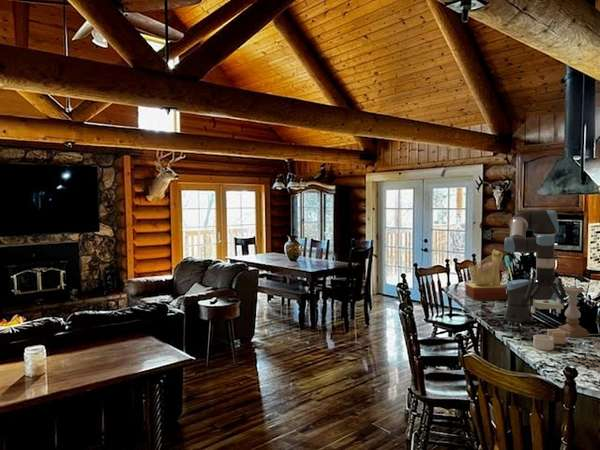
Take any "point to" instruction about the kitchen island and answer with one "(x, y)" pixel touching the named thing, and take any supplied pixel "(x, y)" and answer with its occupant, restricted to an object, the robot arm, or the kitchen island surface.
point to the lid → (548, 304)
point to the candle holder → (573, 315)
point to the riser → (557, 335)
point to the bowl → (543, 342)
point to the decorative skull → (490, 269)
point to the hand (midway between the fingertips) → (545, 312)
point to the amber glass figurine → (486, 280)
